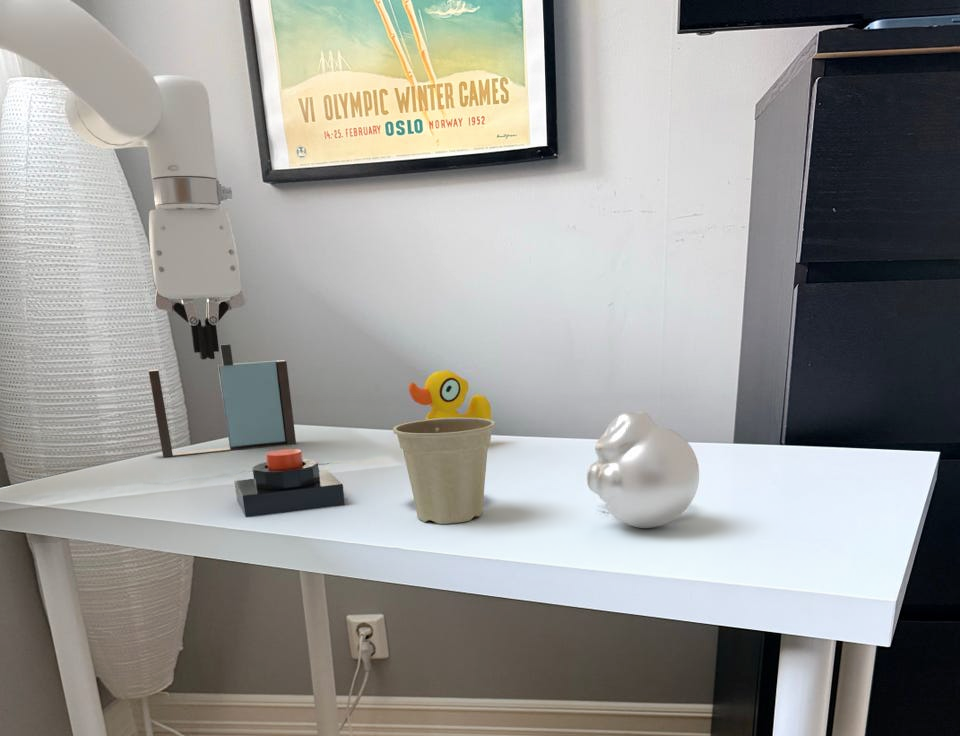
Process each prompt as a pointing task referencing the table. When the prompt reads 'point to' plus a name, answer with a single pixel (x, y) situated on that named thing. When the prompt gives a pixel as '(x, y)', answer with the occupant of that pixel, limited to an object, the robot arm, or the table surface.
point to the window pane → (251, 401)
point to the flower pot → (446, 466)
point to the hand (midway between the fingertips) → (207, 358)
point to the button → (284, 459)
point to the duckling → (449, 397)
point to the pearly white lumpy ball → (643, 471)
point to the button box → (288, 490)
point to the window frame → (285, 407)
